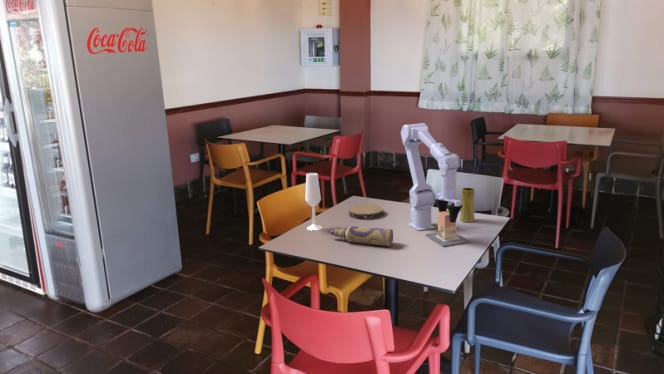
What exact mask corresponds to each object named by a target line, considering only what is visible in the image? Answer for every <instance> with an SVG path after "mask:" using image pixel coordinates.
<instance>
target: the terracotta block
mask: <svg viewBox="0 0 664 374" xmlns="http://www.w3.org/2000/svg"><path fill="white" fill-rule="evenodd" d="M437 214H438V215H437V216H438V217H437V224H439V225H440V226H442V227H444V228H448V227H454V226H456V227H457V221H456V222H453V223H451V222H450V216H449V210H447V211H443V212H439V211H438V213H437Z"/></svg>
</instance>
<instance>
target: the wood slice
mask: <svg viewBox="0 0 664 374" xmlns="http://www.w3.org/2000/svg"><path fill="white" fill-rule="evenodd" d="M348 215H349V216H348V217H350V218H353V219H355V220H361V221H362V220H364V221H367V220H375V219H379V218H382V217H383V215H384V207H382V206H381V205H378V204H371V203H362V204H361V203H360V204H356V205H353V206H352V205H351V206H350V207H349V208H348Z"/></svg>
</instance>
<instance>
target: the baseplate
mask: <svg viewBox="0 0 664 374" xmlns="http://www.w3.org/2000/svg"><path fill="white" fill-rule="evenodd" d="M425 237H427V238H428V239H429V240H432V241H433V242H435V243H436V244H438V245H439V246H440V247H443V248H447V247H451V246H453V247H454V246H459V245H464V244H471V243H472V242H471V240H469V239H468V238H466V237H464V236H462V235H461V234H459V233H457V232H456V238H455V239H449V240H444V239H442V238H440V237H439V236H438V231H437V232H432V233H426V234H425Z"/></svg>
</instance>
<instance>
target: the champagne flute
mask: <svg viewBox="0 0 664 374" xmlns="http://www.w3.org/2000/svg"><path fill="white" fill-rule="evenodd" d="M304 197H305V202H306V203H307V204H308V205H309V206H310V207H311V209H312V210H311V212H312V213H311V214H312V224H311V225H309V226H307V227H306V230H308V231H312V230H315V231H320V230H322V229H323V226H321V225H319V224H317V223H316V207H317V206H318V204H319V203H320V202H321V200H322V197H321V188H320V182H319V174H318V173H316V172H309V173H306V177H305V195H304Z"/></svg>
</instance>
